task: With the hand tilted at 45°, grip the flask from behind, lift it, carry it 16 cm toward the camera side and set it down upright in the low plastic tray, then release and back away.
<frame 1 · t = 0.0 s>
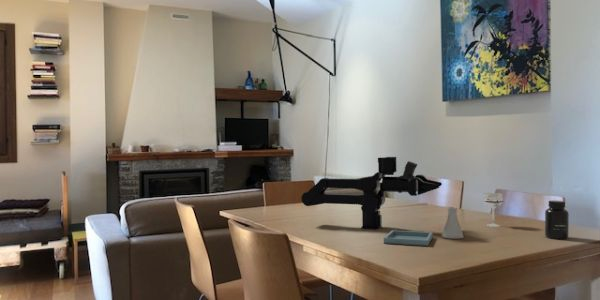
hand: (440, 185, 168), 17 cm above the table, tool horizontal, fingers open, 9 cm apart
tray: (408, 240, 153), on the table
flask: (452, 237, 157), on the table
supplement bottle: (556, 238, 154), on the table
wineglass: (493, 226, 177), on the table
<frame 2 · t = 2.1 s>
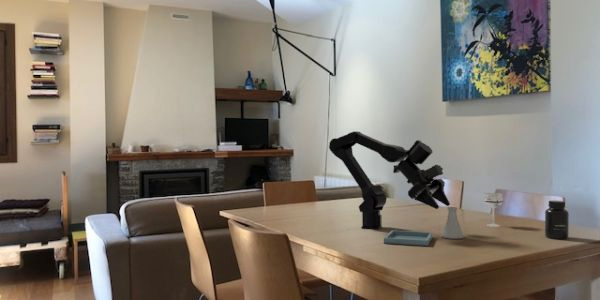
hand: (443, 206, 159), 10 cm above the table, tool tilted 45°, fingers open, 9 cm apart
nothing on the table moved.
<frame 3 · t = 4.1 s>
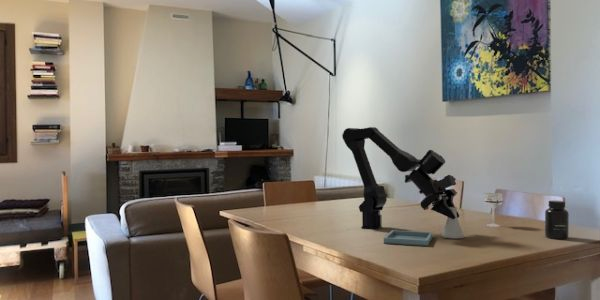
hand: (456, 217, 156), 7 cm above the table, tool tilted 45°, fingers closed on flask, 3 cm apart
flask: (452, 237, 157), on the table, touching gripper
everything else where it was.
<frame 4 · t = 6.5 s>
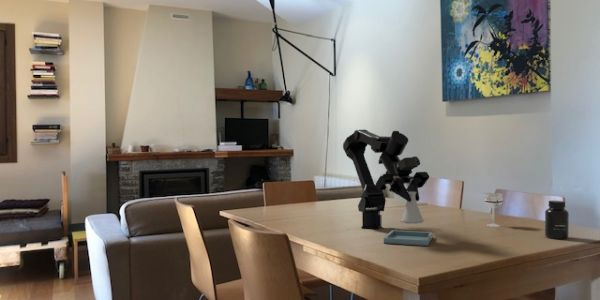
hand: (414, 200, 152), 13 cm above the table, tool tilted 45°, fingers closed on flask, 3 cm apart
flask: (412, 223, 153), point 6 cm above the table, touching gripper
everything else where it was.
when the fingers open (8 cm above the table, at t = 8.1 s): flask stays where it is, resting on tray.
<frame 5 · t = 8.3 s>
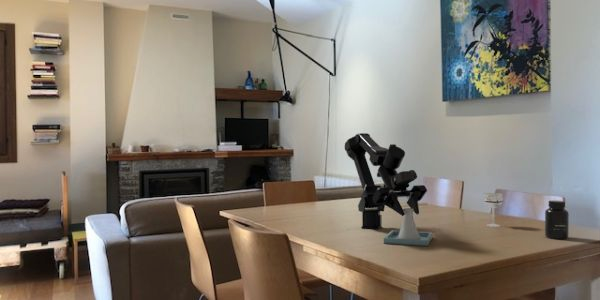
hand: (411, 214, 151), 9 cm above the table, tool tilted 45°, fingers open, 5 cm apart
flask: (408, 240, 153), resting on tray
everything else where it was.
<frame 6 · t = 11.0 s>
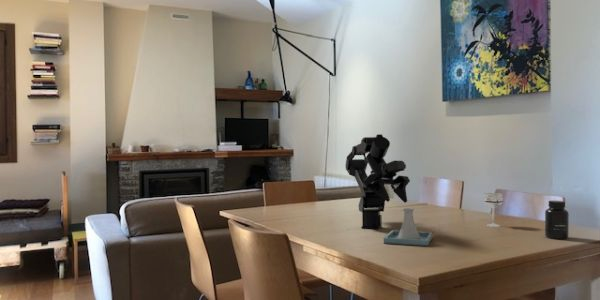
hand: (397, 201, 161), 12 cm above the table, tool tilted 40°, fingers open, 9 cm apart
nothing on the table moved.
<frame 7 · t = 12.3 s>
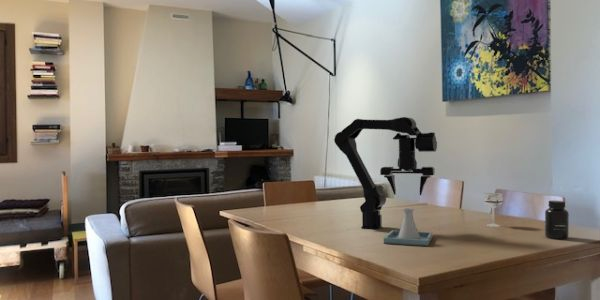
hand: (407, 194, 170), 13 cm above the table, tool pointing down, fingers open, 9 cm apart
nothing on the table moved.
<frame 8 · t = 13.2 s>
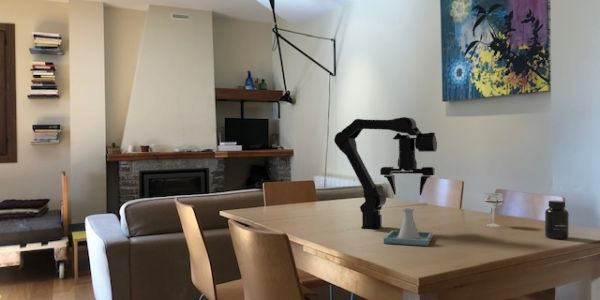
hand: (407, 194, 170), 13 cm above the table, tool pointing down, fingers open, 9 cm apart
nothing on the table moved.
at the end: flask inside the target area on the tray (0.0 cm from its centre), point 0.2 cm above the tray's base; flask tilted 0°; the gripper is holding nothing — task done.
